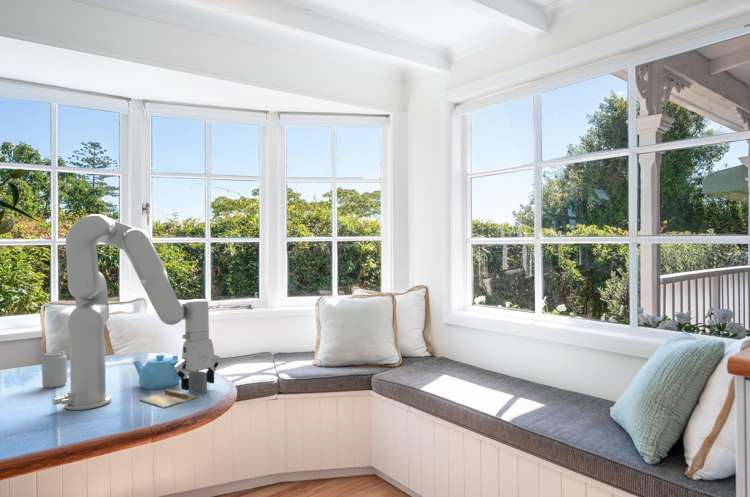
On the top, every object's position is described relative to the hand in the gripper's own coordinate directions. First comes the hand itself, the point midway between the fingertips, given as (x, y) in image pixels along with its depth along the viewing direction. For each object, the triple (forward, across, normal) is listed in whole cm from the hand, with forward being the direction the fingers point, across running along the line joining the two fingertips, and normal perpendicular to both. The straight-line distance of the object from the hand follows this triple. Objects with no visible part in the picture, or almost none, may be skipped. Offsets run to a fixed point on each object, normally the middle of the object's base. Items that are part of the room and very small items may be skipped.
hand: (198, 386), depth 164 cm
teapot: (+2, -2, +20) cm, 20 cm away
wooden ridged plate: (+2, -10, +1) cm, 10 cm away
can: (+2, -24, +51) cm, 57 cm away
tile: (+2, 0, 0) cm, 2 cm away
